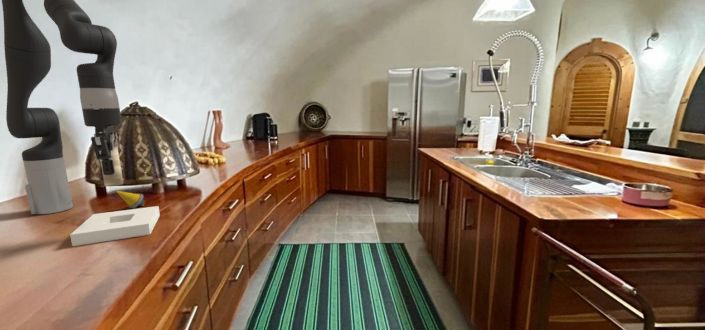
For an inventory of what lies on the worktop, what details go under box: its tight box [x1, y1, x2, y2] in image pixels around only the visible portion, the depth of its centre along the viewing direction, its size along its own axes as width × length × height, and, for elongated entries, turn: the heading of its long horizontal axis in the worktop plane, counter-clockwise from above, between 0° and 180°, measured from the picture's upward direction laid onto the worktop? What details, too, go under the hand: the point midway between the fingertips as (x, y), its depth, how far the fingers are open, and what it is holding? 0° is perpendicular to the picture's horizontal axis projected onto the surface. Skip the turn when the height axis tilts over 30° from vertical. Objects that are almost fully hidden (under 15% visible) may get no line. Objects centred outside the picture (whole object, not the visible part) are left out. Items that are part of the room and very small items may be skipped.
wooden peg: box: [99, 146, 124, 187], centre depth 81 cm, size 4×4×10 cm
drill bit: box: [115, 190, 146, 210], centre depth 102 cm, size 5×5×10 cm
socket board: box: [69, 205, 161, 247], centre depth 84 cm, size 16×16×3 cm
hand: (112, 172), depth 82 cm, fingers closed on wooden peg, 4 cm apart
